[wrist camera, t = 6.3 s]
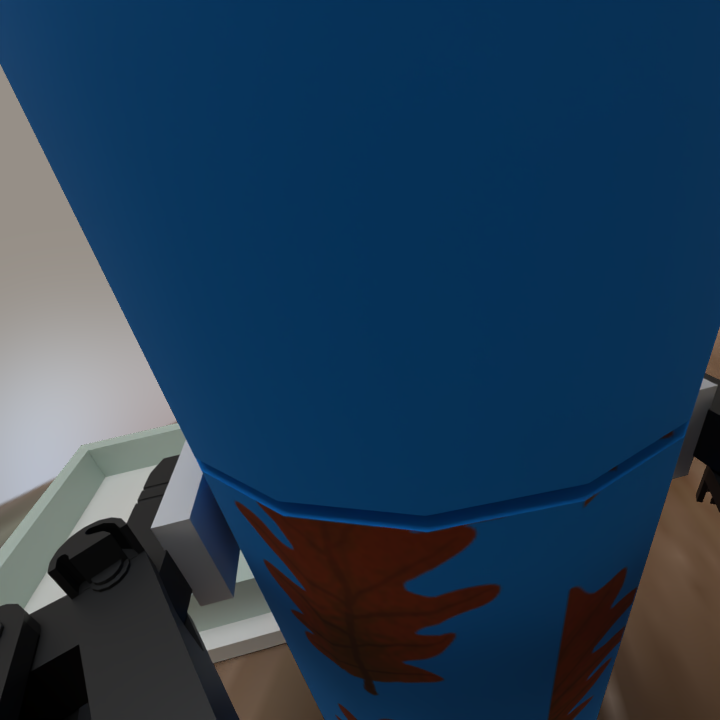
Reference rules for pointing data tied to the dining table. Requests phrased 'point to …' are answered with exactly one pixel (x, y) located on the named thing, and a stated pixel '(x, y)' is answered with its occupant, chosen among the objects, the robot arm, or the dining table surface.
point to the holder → (117, 499)
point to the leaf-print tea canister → (409, 306)
